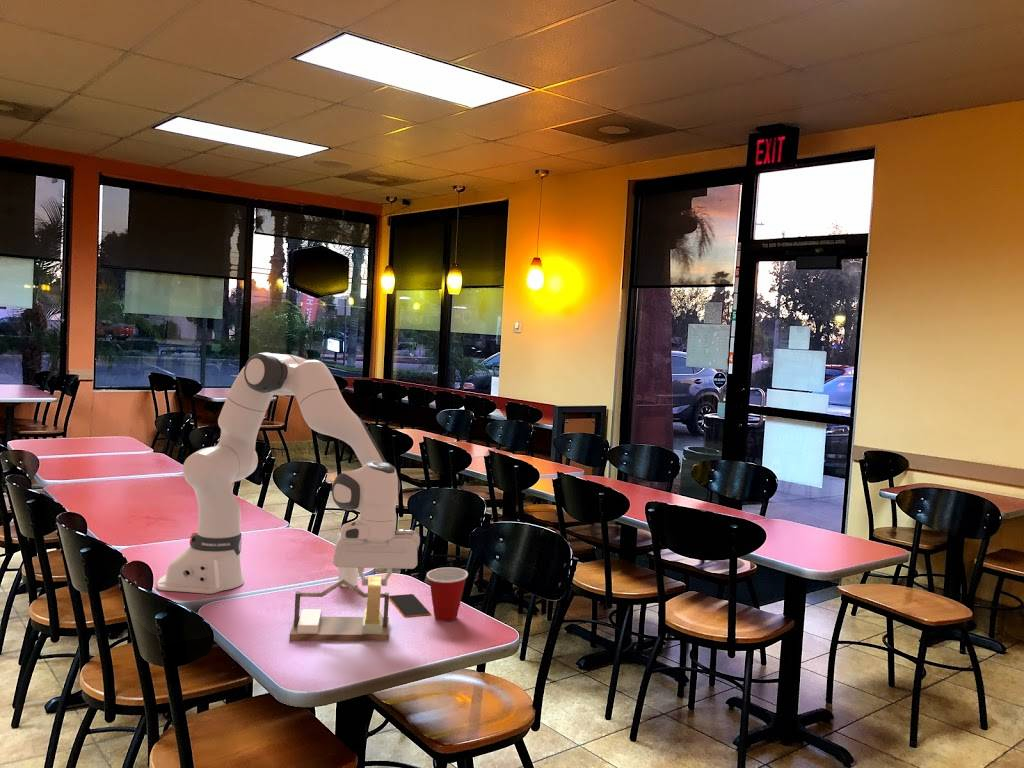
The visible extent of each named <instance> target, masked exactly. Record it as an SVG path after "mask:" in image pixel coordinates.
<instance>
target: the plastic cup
mask: <svg viewBox="0 0 1024 768" xmlns="http://www.w3.org/2000/svg"><path fill="white" fill-rule="evenodd" d="M468 576H469V572H468V571H467V570H466V569H462V568H459V567H448V566H447V567H439V568H435V569H431V570H429V571H428V572H427V573H426V578H427V579H428V582H429V587H430V593H431V603H432V608H433V617H434V619H435V620H437V621H441V622H453V621H455V620H457V617H458V613H459V609H460V607H461V600H462V595H463V592H464V588H465V583H466V581H467V578H468Z"/></svg>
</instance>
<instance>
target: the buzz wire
mask: <svg viewBox="0 0 1024 768" xmlns="http://www.w3.org/2000/svg"><path fill="white" fill-rule="evenodd" d="M342 584H345V585H346V586H347V587H349V589H350V590H352V591H353V592H355V593H356V594H357V595H359V596H360V597H362V598H366V599H367V597H368V592H367V593H366V592H363V591H362V590H361V589H359V588H357V587H356V586H354V585H352V584H351V583H349V582H348V581H347V580H345V579H342V580H340V581H339V580H338V581H337V582H336V583H334V584H333V585H331V586H329V587H328V588H326V589H325V590H323V591H322V592H301V591H295V594H294V595H295V597H294V601H295V602H294V615H293V617H294V618H293V622H292V626H291V629H290V631H289V638H288V639H289V641H291V642H292V641H298V642H300V641H303V642H304V641H305V642H307V641H309V642H310V641H315V642H316V641H319V642H320V641H322V642H323V641H326V642H329V641H330V642H331V641H332V642H333V641H335V642H337V641H338V642H342V641H343V642H351V641H352V642H353V641H354V642H358V641H359V642H367V641H368V642H374V641H375V642H389V640H390V617H389V606H390V605H389V602H390V600H389V596H390V592H384V593H383V592H382V593H381V592H380V599H381V598H382V599H383V598H384V603H383V616H382V634H362V628H363V616H321V620H320V624H319V629H318V633H317V634H297V630H298V623H299V619H300V616H301V615H300V609H301V608H300V607H301V598H323V597H325V596H326V595H327V594H329V593H331V592H333V591H334V590H336V589H337V588H339V587H341V586H340V585H342Z"/></svg>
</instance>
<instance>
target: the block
mask: <svg viewBox="0 0 1024 768" xmlns="http://www.w3.org/2000/svg"><path fill="white" fill-rule="evenodd" d="M299 616H300V619H299V623H298V630H297V634H317V633H318V629H319V624H320V620H321V617H322V609H309V608H308V609H307V608H306V609H305V608H303V609H302V610H301V612H300V615H299Z"/></svg>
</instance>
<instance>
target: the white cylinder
mask: <svg viewBox="0 0 1024 768" xmlns="http://www.w3.org/2000/svg"><path fill="white" fill-rule="evenodd" d="M340 536H341V535H340V532H339V533H338V538H339V537H340ZM338 538H337V539H338ZM337 568H338V582H339V581H340V580H342V579H345V580H347V581H348V582H349V583H351V584H352V585H354V586H355V587H356V586H357V585H358V581H359V580H358V578H359V573H358V568H348V567H337ZM341 586H342V587H341ZM339 587H341V588H346V587H347V586H346V585H345V584H342V585H340V586H339Z"/></svg>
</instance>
